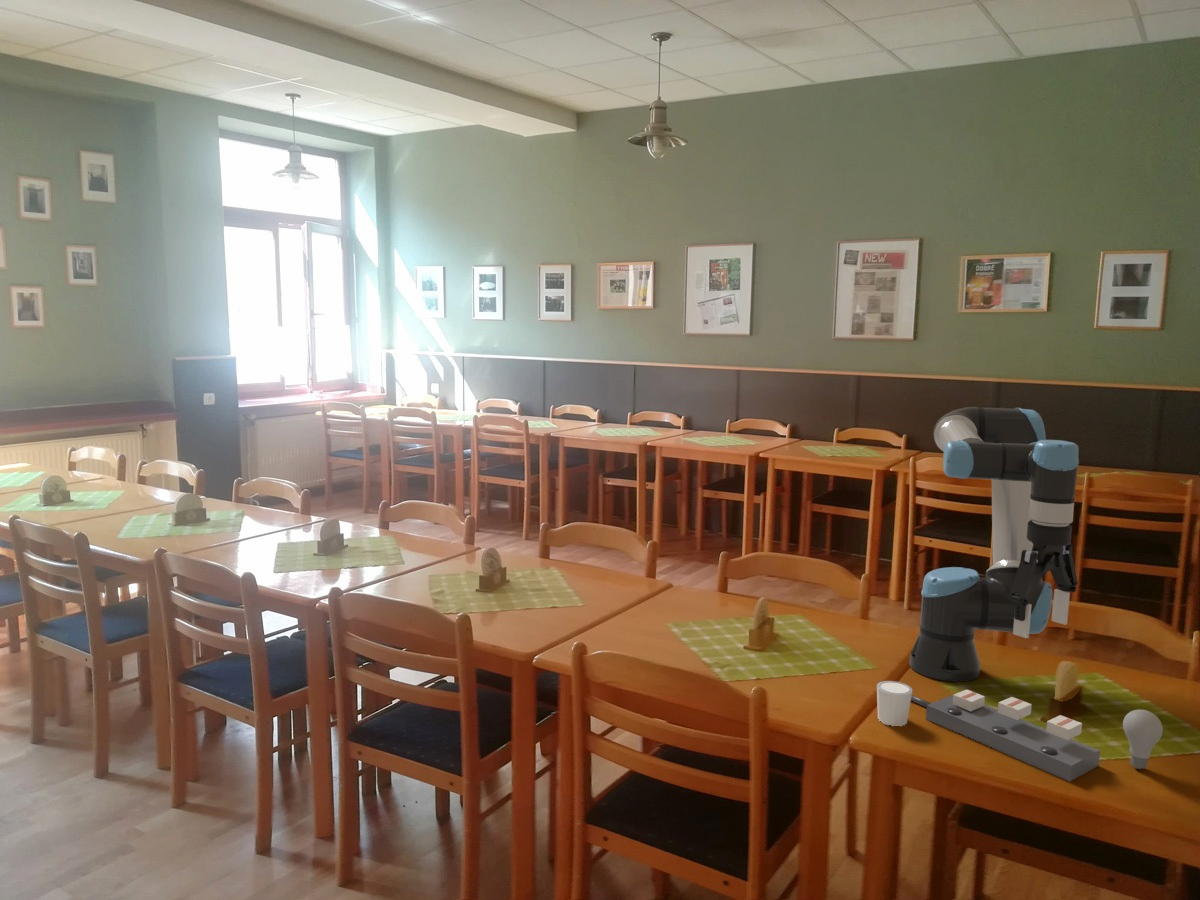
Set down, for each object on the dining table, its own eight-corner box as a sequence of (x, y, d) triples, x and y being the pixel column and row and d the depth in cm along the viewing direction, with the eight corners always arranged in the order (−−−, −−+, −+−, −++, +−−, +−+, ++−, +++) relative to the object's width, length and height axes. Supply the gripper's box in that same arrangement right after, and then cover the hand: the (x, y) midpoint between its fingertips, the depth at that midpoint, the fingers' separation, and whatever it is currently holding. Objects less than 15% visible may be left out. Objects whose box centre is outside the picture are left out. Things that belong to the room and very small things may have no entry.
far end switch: (1059, 725, 164) (1060, 714, 163) (1081, 733, 161) (1082, 722, 160) (1046, 731, 161) (1047, 720, 161) (1067, 740, 158) (1069, 729, 158)
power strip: (914, 690, 191) (915, 676, 191) (1098, 765, 160) (1100, 748, 159) (885, 701, 185) (886, 686, 185) (1069, 781, 154) (1071, 764, 153)
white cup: (912, 729, 173) (915, 696, 172) (876, 726, 174) (878, 692, 173) (907, 714, 180) (910, 681, 179) (872, 711, 181) (874, 678, 180)
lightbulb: (1111, 760, 162) (1116, 704, 160) (1142, 759, 162) (1149, 703, 160) (1133, 777, 156) (1139, 719, 154) (1166, 776, 156) (1172, 718, 154)
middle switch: (1010, 706, 172) (1011, 696, 171) (1030, 714, 168) (1031, 703, 168) (997, 712, 169) (998, 702, 169) (1017, 720, 166) (1018, 709, 165)
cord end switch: (966, 698, 180) (966, 689, 179) (984, 705, 176) (984, 696, 176) (952, 704, 177) (953, 694, 177) (970, 711, 174) (971, 701, 173)
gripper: (1065, 510, 177) (1055, 612, 180) (993, 526, 163) (985, 635, 166) (1103, 517, 171) (1093, 622, 174) (1032, 534, 157) (1022, 648, 160)
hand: (1040, 629), depth 170 cm, fingers open, 13 cm apart
